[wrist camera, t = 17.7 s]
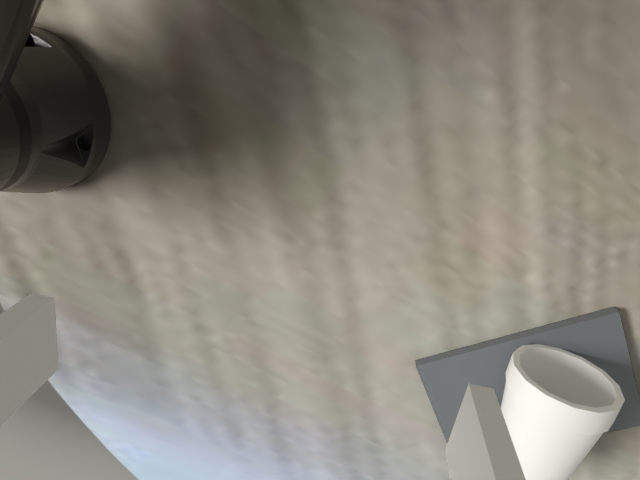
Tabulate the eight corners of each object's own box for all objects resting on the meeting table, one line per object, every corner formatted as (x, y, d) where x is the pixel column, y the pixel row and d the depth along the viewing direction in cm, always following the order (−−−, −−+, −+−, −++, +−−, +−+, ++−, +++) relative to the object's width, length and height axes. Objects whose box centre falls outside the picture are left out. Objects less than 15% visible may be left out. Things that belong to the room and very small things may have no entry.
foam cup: (462, 483, 46) (502, 375, 41) (485, 429, 54) (521, 332, 49) (566, 543, 42) (624, 430, 37) (575, 475, 50) (625, 374, 45)
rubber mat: (454, 457, 55) (455, 464, 54) (415, 360, 51) (416, 366, 50) (641, 417, 50) (645, 424, 49) (614, 306, 46) (619, 311, 45)
